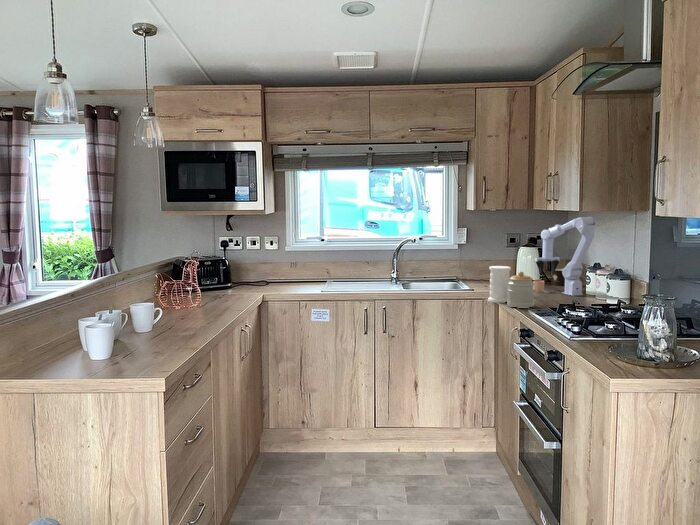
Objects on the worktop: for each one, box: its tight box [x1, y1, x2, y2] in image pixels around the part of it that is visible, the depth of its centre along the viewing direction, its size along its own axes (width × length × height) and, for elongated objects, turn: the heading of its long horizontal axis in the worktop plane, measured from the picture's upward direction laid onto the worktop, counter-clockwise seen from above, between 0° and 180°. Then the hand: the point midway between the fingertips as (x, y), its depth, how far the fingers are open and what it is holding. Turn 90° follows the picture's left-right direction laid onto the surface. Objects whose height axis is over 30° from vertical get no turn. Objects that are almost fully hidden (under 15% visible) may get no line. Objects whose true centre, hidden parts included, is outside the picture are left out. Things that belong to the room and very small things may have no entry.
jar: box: [506, 271, 535, 308], centre depth 271 cm, size 13×13×18 cm
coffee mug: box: [549, 268, 565, 287], centre depth 337 cm, size 12×9×10 cm
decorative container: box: [487, 265, 511, 304], centre depth 287 cm, size 12×12×18 cm
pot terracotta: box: [533, 279, 545, 292], centre depth 312 cm, size 6×6×6 cm
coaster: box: [534, 290, 552, 295], centre depth 312 cm, size 10×10×1 cm
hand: (547, 273), depth 320 cm, fingers open, 7 cm apart
